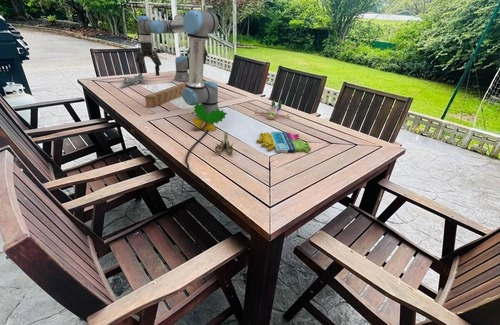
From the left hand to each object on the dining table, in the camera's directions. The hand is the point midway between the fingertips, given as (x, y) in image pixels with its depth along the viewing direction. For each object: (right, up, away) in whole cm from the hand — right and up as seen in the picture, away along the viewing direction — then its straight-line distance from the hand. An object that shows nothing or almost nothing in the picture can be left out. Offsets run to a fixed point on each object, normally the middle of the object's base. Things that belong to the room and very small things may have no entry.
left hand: (197, 63), depth 242 cm
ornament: (+23, -71, -78) cm, 108 cm away
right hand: (-23, -29, -56) cm, 67 cm away
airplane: (-63, -17, +8) cm, 65 cm away
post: (-13, -34, -17) cm, 40 cm away
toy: (+66, -56, -45) cm, 97 cm away
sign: (+67, -81, -90) cm, 138 cm away
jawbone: (+35, -87, -104) cm, 139 cm away
